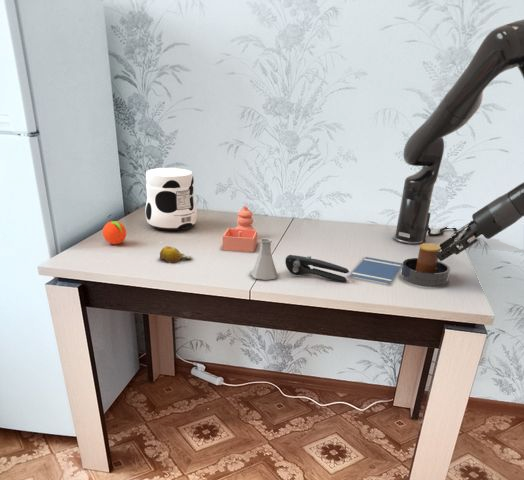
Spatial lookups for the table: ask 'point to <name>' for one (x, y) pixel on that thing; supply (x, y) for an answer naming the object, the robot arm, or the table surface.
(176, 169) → the milk container
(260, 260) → the flask
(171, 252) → the fruit
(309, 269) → the can opener
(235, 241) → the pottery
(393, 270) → the tea towel
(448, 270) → the pan
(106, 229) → the clementine
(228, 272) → the table surface
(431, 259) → the chocolate tin
